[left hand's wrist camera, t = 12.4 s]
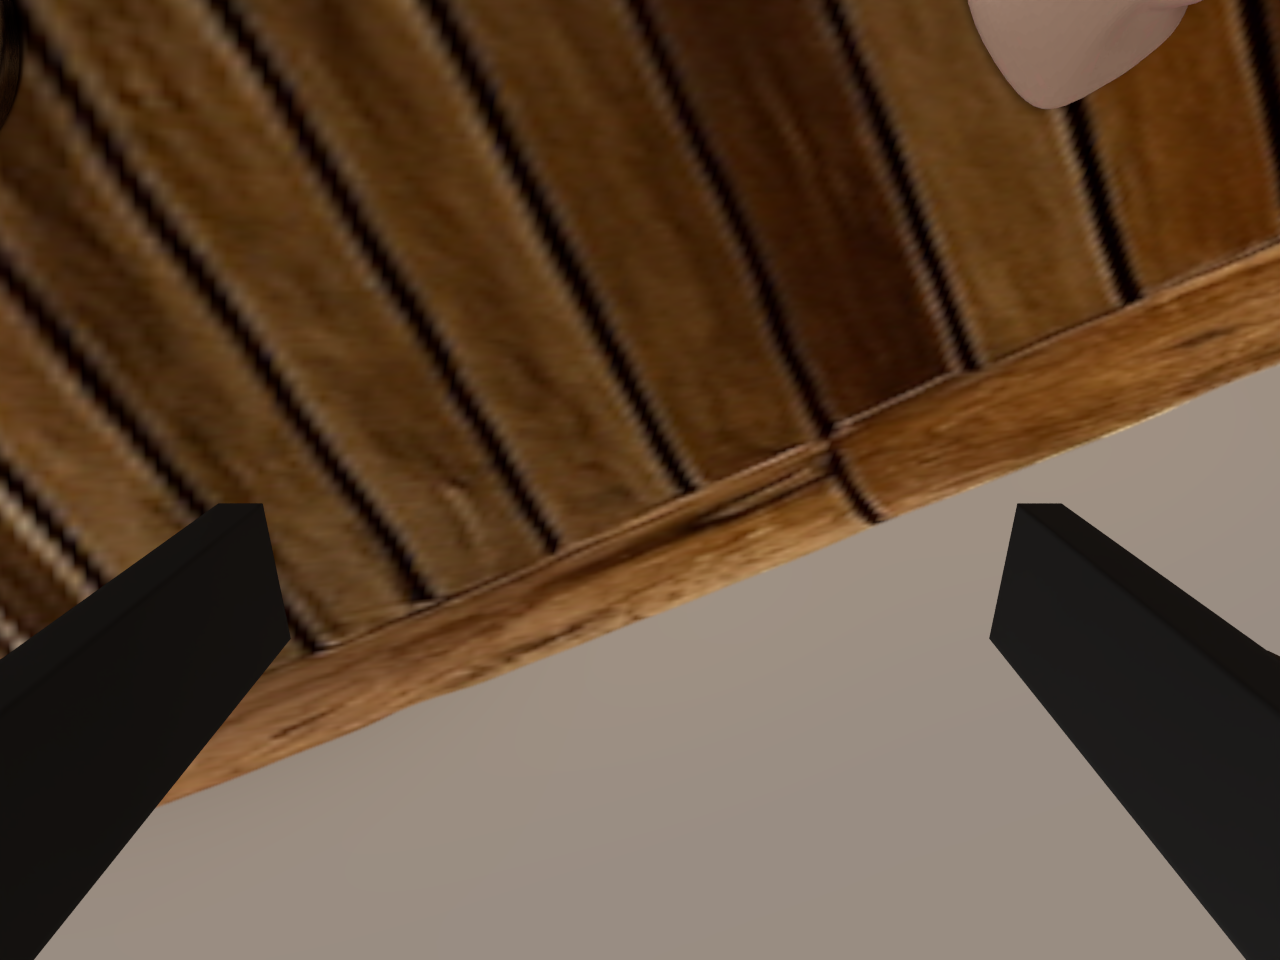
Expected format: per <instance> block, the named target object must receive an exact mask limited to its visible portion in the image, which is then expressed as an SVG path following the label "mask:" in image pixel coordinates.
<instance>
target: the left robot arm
mask: <svg viewBox="0 0 1280 960" xmlns="http://www.w3.org/2000/svg"><path fill="white" fill-rule="evenodd" d="M18 72H19V36H18V26H17V21H16V15H15V9H14V5H13V1H12V0H0V129H1V127H2V125H3V124H4V122H5V119H6V117H7V115H8V113H9V111H10V108H11V105H12V102H13V99H14V95H15V91H16V86H17V81H18ZM290 639H291V638H290V633H289V628H288V623H287V618H286V614H285V609H284V604H283V599H282V594H281V590H280V585H279V580H278V575H277V570H276V566H275V561H274V556H273V551H272V546H271V542H270V537H269V532H268V527H267V522H266V518H265V513H264V508H263V504H217V505H216V506H214V507H213V508H212V509H210V510H209V511H207V512H206V513H205V514H203V515H202V516H200V517H199V518H198V519H196V520H195V521H193V522H192V523H191V524H189V525H188V526H186V527H185V528H184V529H182V530H181V531H179V532H178V533H177V534H175V535H174V536H172V537H171V538H170V539H168V540H167V541H166V542H164V543H163V544H161V545H160V546H159V547H157V548H156V549H154V550H153V551H152V552H150V553H149V554H147V555H146V556H145V557H143V558H142V559H140V560H139V561H138V562H136V563H135V564H133V565H132V566H131V567H129V568H128V569H126V570H125V571H124V572H122V573H121V574H119V575H118V576H117V577H115V578H114V579H112V580H111V581H110V582H108V583H107V584H105V585H104V586H103V587H101V588H100V589H98V590H97V591H96V592H94V593H93V594H92V595H90V596H89V597H87V598H86V599H85V600H83V601H82V602H80V603H79V604H78V605H76V606H75V607H73V608H72V609H71V610H69V611H68V612H66V613H65V614H64V615H62V616H61V617H59V618H58V619H57V620H55V621H54V622H52V623H51V624H50V625H48V626H47V627H45V628H44V629H43V630H41V631H40V632H38V633H37V634H36V635H34V636H33V637H31V638H30V639H29V640H27V641H26V642H24V643H23V644H22V645H20V646H19V647H17V648H16V649H15V650H13V651H12V652H11V653H9V654H8V655H6V656H5V657H4V658H2V659H0V960H34V959H35V958H36V956H37V955H38V954H39V953H40V951H41V950H42V949H43V948H44V946H45V945H46V944H47V943H48V941H49V940H50V939H51V938H52V936H53V935H54V934H55V933H56V931H57V930H58V929H59V928H60V926H61V925H62V924H63V923H64V921H65V920H66V919H67V918H68V916H69V915H70V914H71V913H72V911H73V910H74V909H75V908H76V906H77V905H78V904H79V903H80V901H81V900H82V899H83V898H84V896H85V895H86V894H87V893H88V891H89V890H90V889H91V888H92V886H93V885H94V884H95V883H96V881H97V880H98V879H99V878H100V876H101V875H102V874H103V873H104V871H105V870H106V869H107V868H108V866H109V865H110V864H111V863H112V861H113V860H114V859H115V858H116V856H117V855H118V854H119V853H120V851H121V850H122V849H123V848H124V846H125V845H126V844H127V843H128V841H129V840H130V839H131V838H132V836H133V835H134V834H135V833H136V831H137V830H138V829H139V828H140V826H141V825H142V824H143V823H144V821H145V820H146V819H147V818H148V816H149V815H150V814H151V813H152V811H153V810H154V809H155V808H156V806H157V805H158V804H159V803H160V801H161V800H162V799H163V798H164V796H165V795H166V794H167V793H168V791H169V790H170V789H171V788H172V786H173V785H174V784H175V783H176V781H177V780H178V779H179V778H180V776H181V775H182V774H183V773H184V771H185V770H186V769H187V768H188V766H189V765H190V764H191V763H192V761H193V760H194V759H195V758H196V756H197V755H198V754H199V753H200V751H201V750H202V749H203V748H204V746H205V745H206V744H207V743H208V741H209V740H210V739H211V738H212V736H213V735H214V734H215V733H216V731H217V730H218V729H219V728H220V726H221V725H222V724H223V723H224V721H225V720H226V719H227V718H228V716H229V715H230V714H231V713H232V711H233V710H234V709H235V708H236V706H237V705H238V704H239V703H240V701H241V700H242V699H243V698H244V696H245V695H246V694H247V693H248V691H249V690H250V689H251V688H252V686H253V685H254V684H255V683H256V681H257V680H258V679H259V678H260V676H261V675H262V674H263V673H264V671H265V670H266V669H267V668H268V666H269V665H270V664H271V663H272V661H273V660H274V659H275V658H276V656H277V655H278V654H279V653H280V651H281V650H282V649H283V648H284V646H285V645H286V644H287V642H288V641H289V640H290ZM989 639H990V640H991V641H992V643H993V644H994V645H995V646H996V648H997V649H998V650H999V651H1000V652H1001V654H1002V655H1003V656H1004V658H1005V659H1006V660H1007V661H1008V662H1009V664H1010V665H1011V666H1012V668H1013V669H1014V670H1015V671H1016V672H1017V674H1018V675H1019V676H1020V678H1021V679H1022V680H1023V681H1024V683H1025V684H1026V685H1027V686H1028V687H1029V689H1030V690H1031V691H1032V693H1033V694H1034V695H1035V696H1036V697H1037V699H1038V700H1039V701H1040V702H1041V704H1042V705H1043V706H1044V708H1045V709H1046V710H1047V711H1048V713H1049V714H1050V715H1051V716H1052V717H1053V719H1054V720H1055V721H1056V723H1057V724H1058V725H1059V726H1060V728H1061V729H1062V730H1063V731H1064V733H1065V734H1066V735H1067V736H1068V738H1069V739H1070V740H1071V741H1072V743H1073V744H1074V745H1075V746H1076V748H1077V749H1078V750H1079V751H1080V753H1081V754H1082V755H1083V756H1084V758H1085V759H1086V760H1087V761H1088V763H1089V764H1090V765H1091V766H1092V767H1093V769H1094V770H1095V771H1096V773H1097V774H1098V775H1099V776H1100V778H1101V779H1102V780H1103V781H1104V783H1105V784H1106V785H1107V786H1108V788H1109V789H1110V790H1111V791H1112V793H1113V794H1114V795H1115V796H1116V797H1117V799H1118V800H1119V801H1120V803H1121V804H1122V805H1123V806H1124V808H1125V809H1126V810H1127V811H1128V813H1129V814H1130V815H1131V816H1132V818H1133V819H1134V820H1135V821H1136V823H1137V824H1138V825H1139V826H1140V828H1141V829H1142V830H1143V831H1144V832H1145V834H1146V835H1147V836H1148V838H1149V839H1150V840H1151V841H1152V843H1153V844H1154V845H1155V846H1156V848H1157V849H1158V850H1159V851H1160V853H1161V854H1162V855H1163V856H1164V858H1165V859H1166V860H1167V861H1168V863H1169V864H1170V865H1171V866H1172V868H1173V869H1174V870H1175V871H1176V873H1177V874H1178V875H1179V876H1180V878H1181V879H1182V880H1183V881H1184V883H1185V884H1186V885H1187V886H1188V888H1189V889H1190V890H1191V891H1192V893H1193V894H1194V895H1195V896H1196V898H1197V899H1198V900H1199V901H1200V903H1201V904H1202V905H1203V906H1204V908H1205V909H1206V910H1207V911H1208V913H1209V914H1210V915H1211V916H1212V918H1213V919H1214V920H1215V921H1216V923H1217V924H1218V925H1219V926H1220V928H1221V929H1222V930H1223V931H1224V933H1225V934H1226V935H1227V936H1228V938H1229V939H1230V940H1231V941H1232V943H1233V944H1234V945H1235V946H1236V948H1237V949H1238V950H1239V951H1240V953H1241V954H1242V955H1243V956H1244V958H1245V959H1246V960H1280V656H1278V655H1276V654H1274V653H1272V652H1270V651H1267V650H1265V649H1264V648H1263V647H1261V646H1260V645H1258V644H1257V643H1256V642H1254V641H1253V640H1251V639H1250V638H1249V637H1247V636H1246V635H1244V634H1243V633H1242V632H1240V631H1239V630H1237V629H1236V628H1235V627H1233V626H1232V625H1230V624H1229V623H1227V622H1226V621H1225V620H1223V619H1222V618H1221V617H1219V616H1218V615H1216V614H1215V613H1214V612H1212V611H1211V610H1209V609H1208V608H1207V607H1205V606H1204V605H1202V604H1201V603H1200V602H1198V601H1197V600H1195V599H1194V598H1193V597H1191V596H1190V595H1188V594H1187V593H1186V592H1184V591H1183V590H1181V589H1180V588H1179V587H1177V586H1176V585H1174V584H1173V583H1172V582H1170V581H1169V580H1168V579H1166V578H1165V577H1163V576H1162V575H1160V574H1159V573H1158V572H1156V571H1155V570H1154V569H1152V568H1151V567H1149V566H1148V565H1147V564H1145V563H1144V562H1142V561H1141V560H1140V559H1138V558H1137V557H1135V556H1134V555H1133V554H1131V553H1130V552H1128V551H1127V550H1126V549H1124V548H1123V547H1121V546H1120V545H1119V544H1117V543H1116V542H1114V541H1113V540H1112V539H1110V538H1109V537H1108V536H1106V535H1105V534H1103V533H1102V532H1101V531H1099V530H1098V529H1096V528H1095V527H1093V526H1092V525H1091V524H1089V523H1088V522H1086V521H1085V520H1084V519H1082V518H1081V517H1080V516H1078V515H1077V514H1075V513H1074V512H1073V511H1071V510H1070V509H1068V508H1067V507H1065V506H1064V505H1063V504H1017V508H1016V513H1015V517H1014V522H1013V527H1012V532H1011V537H1010V542H1009V547H1008V551H1007V556H1006V561H1005V566H1004V570H1003V575H1002V580H1001V585H1000V590H999V595H998V599H997V604H996V609H995V614H994V618H993V623H992V628H991V633H990V638H989Z"/></svg>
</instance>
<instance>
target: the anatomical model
mask: <svg viewBox="0 0 1280 960" xmlns="http://www.w3.org/2000/svg"><path fill="white" fill-rule="evenodd" d="M1200 1H1202V0H968V4H969V7H970V10H971V13H972V16H973V20H974V23H975V25H976V27H977V30H978V32H979V34H980V36H981V39H982V41H983V43H984V45H985V46H986V48H987V50H988V52H989V53H990V55H991V57H992V59H993V60H994V62H995V64H996V65H997V66H998V68H999V69H1000V71H1001V72H1002V74H1003V75H1004V77H1005V78H1006V80H1007V81H1008V82H1009V83H1010V85H1011V86H1012V87H1013V88H1014V89H1015V91H1016V92H1017V93H1018V94H1019V95H1020V96H1021V97H1022V98H1023V99H1024V100H1025V101H1027V102H1029V103H1030V104H1032V105H1033V106H1036V107H1038V108H1042V109H1054V108H1059V107H1062V106H1065V105H1068V104H1070V103H1072V102H1074V101H1076V100H1079V99H1081V98H1083V97H1085V96H1087V95H1088V94H1090V93H1092V92H1093V91H1095V90H1097V89H1099V88H1100V87H1102V86H1104V85H1106V84H1107V83H1109V82H1111V81H1112V80H1114V79H1116V78H1117V77H1119V76H1121V75H1122V74H1124V73H1125V72H1127V71H1128V70H1129V69H1131V68H1132V67H1134V66H1135V65H1136V64H1137V63H1139V62H1140V61H1141V60H1143V59H1144V58H1145V57H1146V56H1148V55H1149V54H1150V53H1151V52H1153V51H1154V50H1155V49H1156V48H1157V47H1159V46H1160V45H1161V44H1162V43H1163V42H1164V41H1165V40H1166V39H1167V38H1168V37H1169V36H1170V35H1171V34H1172V33H1173V31H1174V30H1175V29H1176V27H1177V26H1178V25H1179V23H1180V21H1181V19H1182V17H1183V16H1184V14H1185V11H1186V9H1187V7H1188V5H1190V4H1194V3H1197V2H1200Z"/></svg>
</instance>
